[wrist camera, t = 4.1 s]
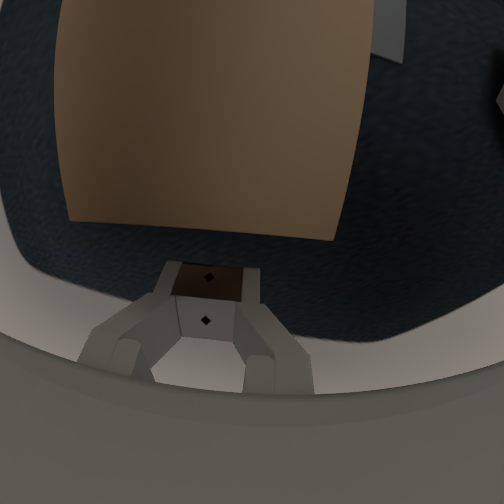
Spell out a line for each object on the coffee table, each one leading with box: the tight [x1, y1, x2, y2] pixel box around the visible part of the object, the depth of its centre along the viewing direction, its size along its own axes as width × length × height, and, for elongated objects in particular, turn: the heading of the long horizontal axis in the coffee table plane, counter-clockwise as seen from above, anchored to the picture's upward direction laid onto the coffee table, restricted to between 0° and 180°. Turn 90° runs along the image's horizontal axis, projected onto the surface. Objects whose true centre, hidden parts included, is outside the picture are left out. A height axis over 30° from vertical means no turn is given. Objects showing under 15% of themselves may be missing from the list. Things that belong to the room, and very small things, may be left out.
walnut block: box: [54, 0, 374, 241], centre depth 7 cm, size 5×5×10 cm
